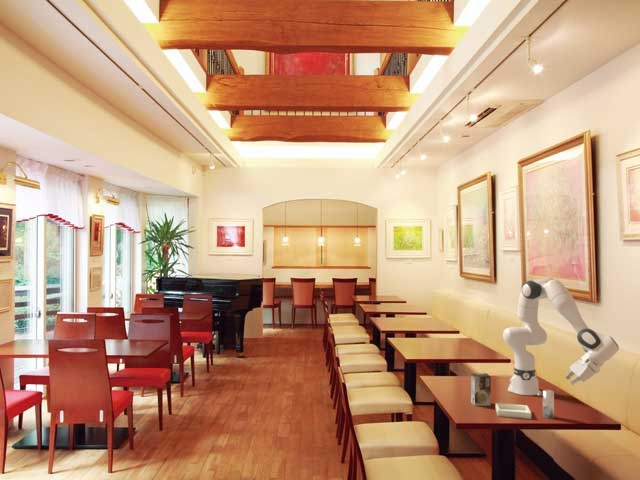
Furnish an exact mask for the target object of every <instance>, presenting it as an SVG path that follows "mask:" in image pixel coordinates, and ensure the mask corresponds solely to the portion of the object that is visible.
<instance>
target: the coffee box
mask: <svg viewBox="0 0 640 480" xmlns="http://www.w3.org/2000/svg"><path fill="white" fill-rule="evenodd" d="M491 380H492V379H491V375H489V373H485V372H482V373H479V372H478V373H471V374H470V402H471V404H472V405H473V406H474V407H475V406H477V407H478V406H480V407H481V406H485V407H486V406H492V405H491V404H492V397H491V396H492V393H491V392H492V390H491V389H492V388H491V386H492V385H491V383H492V382H491Z"/></svg>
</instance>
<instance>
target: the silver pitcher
mask: <svg viewBox="0 0 640 480" xmlns="http://www.w3.org/2000/svg"><path fill="white" fill-rule="evenodd" d="M541 393H542V394H541ZM541 393H537V394H536V395H535V396H539V397H542V417H543V418H545V419H551V420H552V419H554V418H555V391H554V390H551V389H543V390H542V392H541Z"/></svg>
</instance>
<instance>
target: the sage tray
mask: <svg viewBox="0 0 640 480" xmlns="http://www.w3.org/2000/svg"><path fill="white" fill-rule="evenodd" d="M494 409H495V411H496V412H495V413H496V415H497V417H501V418H502V417H505V418H514V419H515V418H516V419H524V420H525V419H526V420H532V412H531V410H530V408H529V406H528V405H527V404H525V405H524V404H516V403H515V404H513V403H504V402H495V403H494Z"/></svg>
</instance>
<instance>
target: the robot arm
mask: <svg viewBox="0 0 640 480" xmlns="http://www.w3.org/2000/svg"><path fill="white" fill-rule="evenodd" d="M543 299H548V301H549V302H550V303H551V305H552V307H553V308H554V309H555V310H556V311H557V313H559V314H560V315H561V316H562V317H563V318H564V319H565V320H567V321H568V323H569V324H570V325H571V326H572V327H573V329H574V330H575V332H576V333H577V337H576V338H577V342H578V344H580V346H581V348H582V349H583V351H585V353H584V354H583V355H582V356H581V357H580V359H577V360H576V361H574V362H573V363H572V364H571V365H570V366H569V370H570V371H568V373H567V374H566V375H565V376H564V377H565V379H566V380H568V381H569V380H570V379H571V377H572V376H574V375H575V377H574V378H572V379H571V380H570V381H569V383H570V384H571V385H574V384H577V383H578V382H580V381H581V382H586V381H588V380H589V379H591V378H592V377H593V376H594V375H596V374H598V373H600V371H601V367H602V366H603V365H604V364H605V362H607V361H609V360H610V359H612V358H613V356H615V355H616V354H617V353H618V351H619V349H620V348H619V345H618V343H617V342H616V340H615V339H614V338H613V337H612V336H610V335H605V334H602V333H598V332H597V331H595V330H593V329H591V328H589V326H588V325H587V323H586V322H585V320H584V319H583V318H582V316H581V314H580V310H579V308H578V305H577V303H576V301H575V299H574V297H573V294H571V291H569V289H568V288H567V287H566V286H565V285H564V284H563V282H561V281H560V280H558V279H553V278H538V279H534V280H533V279H532V280H528V281H525V282H524V283H522V285H521V290H520V293H519V297H518V303H517V311H516V315H517V317H518V319H519V321H521V322H523V323H524V326H511V327H507V328H504V330H503V332H502V339H503V341H504V342H505V343H506V344H507V345H508V346H509V347H510V348H511V350H512V352H513V356H514V367H513V375H512V377H511V378H510V377H509V384H508V388H507V392H510V393H514V394H517V395H521V396H537V395H536V394H537V393H541V394H543V392H542V391H541V390H539V379H538V378H537V377H536V369H535V367H536V366H535V365H536V364H535V363H536V361H535V356H534V354H533V353H532V352H530V351H528V350H527V348H526V346H540V345H543V344H545V343H546V342H547V339H548V334H547V331H546V330H545V329H544V328H543V327H542V326H541V325H540V323H539V321H538V320H539V319H538V317H539V316H538V315H539V314H538V313H539V305H540V302H539V301H540V300H543Z"/></svg>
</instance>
